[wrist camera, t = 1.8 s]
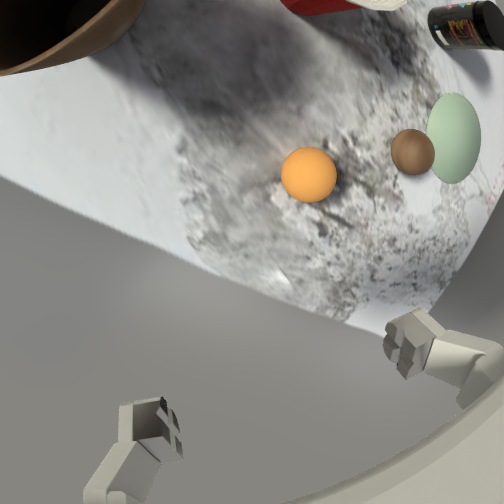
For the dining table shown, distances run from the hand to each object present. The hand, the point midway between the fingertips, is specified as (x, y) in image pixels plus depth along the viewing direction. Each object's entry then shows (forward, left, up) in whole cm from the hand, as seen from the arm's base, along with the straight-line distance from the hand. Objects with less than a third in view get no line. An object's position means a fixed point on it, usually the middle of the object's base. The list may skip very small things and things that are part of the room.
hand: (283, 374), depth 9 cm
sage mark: (-35, +1, -24) cm, 43 cm away
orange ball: (-9, +1, -21) cm, 23 cm away
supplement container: (-35, -16, -24) cm, 46 cm away
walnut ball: (-23, +1, -21) cm, 32 cm away
